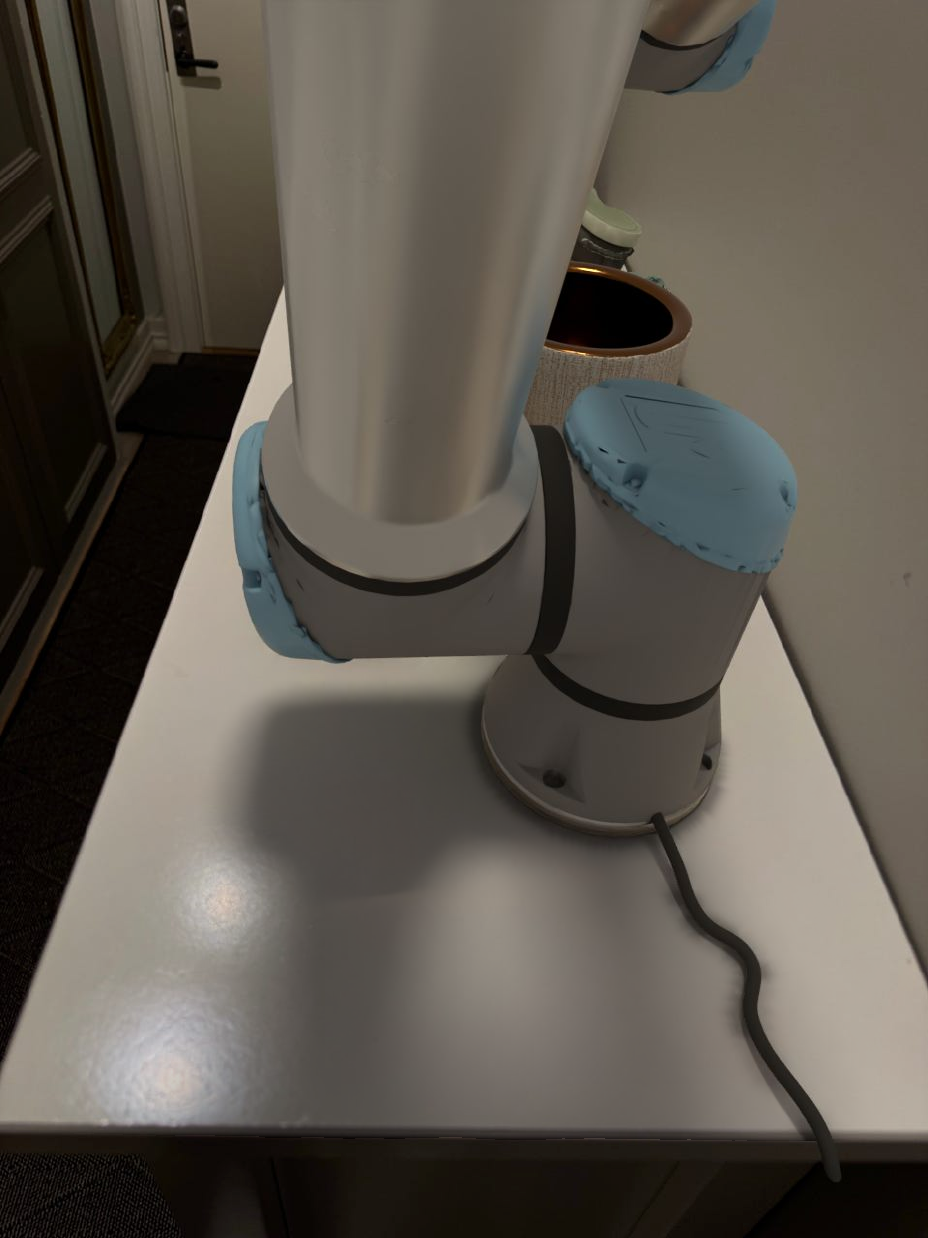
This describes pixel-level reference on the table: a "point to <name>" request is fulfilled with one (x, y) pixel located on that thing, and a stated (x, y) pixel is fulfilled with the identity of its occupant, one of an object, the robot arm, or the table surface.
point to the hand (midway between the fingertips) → (374, 447)
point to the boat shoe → (605, 235)
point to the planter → (606, 338)
